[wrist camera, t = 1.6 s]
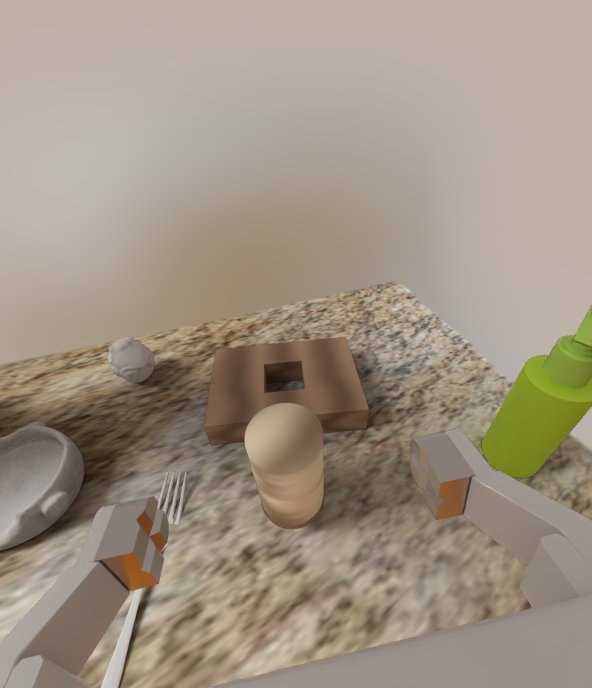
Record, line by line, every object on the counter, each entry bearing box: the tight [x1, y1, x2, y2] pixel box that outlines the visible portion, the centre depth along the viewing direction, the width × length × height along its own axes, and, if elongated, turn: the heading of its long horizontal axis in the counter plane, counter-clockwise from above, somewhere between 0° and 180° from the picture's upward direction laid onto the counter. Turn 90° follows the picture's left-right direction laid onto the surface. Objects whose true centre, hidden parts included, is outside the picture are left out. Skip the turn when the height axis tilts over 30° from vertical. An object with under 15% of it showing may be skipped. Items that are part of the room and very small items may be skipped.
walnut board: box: [204, 337, 369, 445], centre depth 45 cm, size 20×14×4 cm
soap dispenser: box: [482, 306, 592, 478], centre depth 31 cm, size 6×7×20 cm
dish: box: [0, 422, 85, 551], centre depth 36 cm, size 14×14×5 cm
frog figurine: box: [108, 336, 155, 383], centre depth 49 cm, size 6×7×7 cm
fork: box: [101, 471, 187, 688], centre depth 29 cm, size 3×24×2 cm, turn 177°
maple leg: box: [245, 403, 324, 529], centre depth 30 cm, size 6×6×14 cm
